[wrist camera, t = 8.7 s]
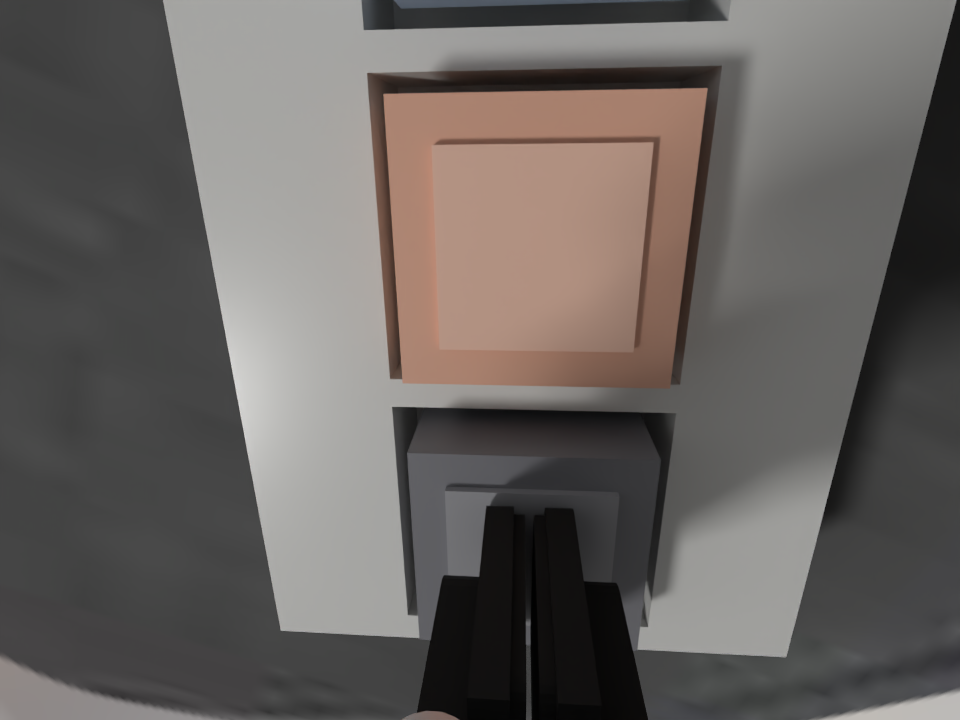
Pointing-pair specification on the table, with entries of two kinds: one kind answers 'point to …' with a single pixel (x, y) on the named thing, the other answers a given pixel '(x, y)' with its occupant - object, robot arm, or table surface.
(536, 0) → the key slate
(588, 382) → the key terracotta
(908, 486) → the table surface
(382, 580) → the keypad
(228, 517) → the table surface
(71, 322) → the table surface
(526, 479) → the key charcoal
